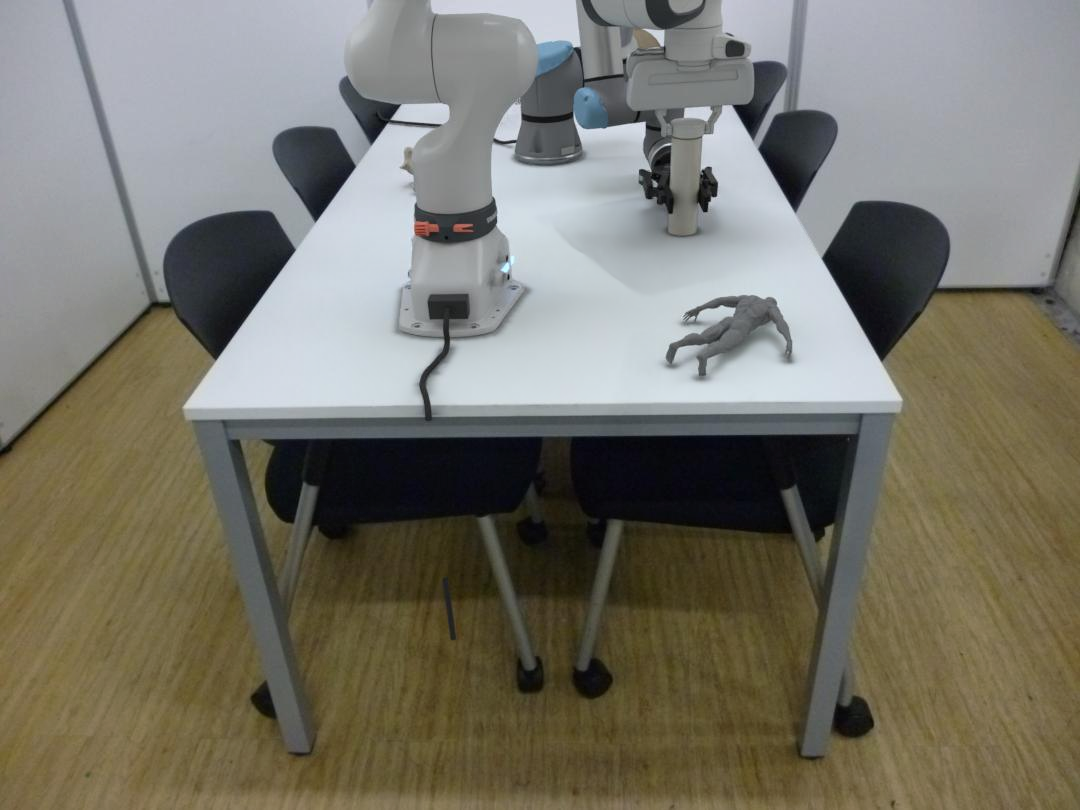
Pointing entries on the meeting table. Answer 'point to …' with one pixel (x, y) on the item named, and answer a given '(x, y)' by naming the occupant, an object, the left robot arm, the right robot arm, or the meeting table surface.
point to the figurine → (732, 326)
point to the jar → (685, 185)
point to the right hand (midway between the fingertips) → (688, 205)
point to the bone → (408, 161)
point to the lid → (688, 127)
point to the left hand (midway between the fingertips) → (687, 134)
